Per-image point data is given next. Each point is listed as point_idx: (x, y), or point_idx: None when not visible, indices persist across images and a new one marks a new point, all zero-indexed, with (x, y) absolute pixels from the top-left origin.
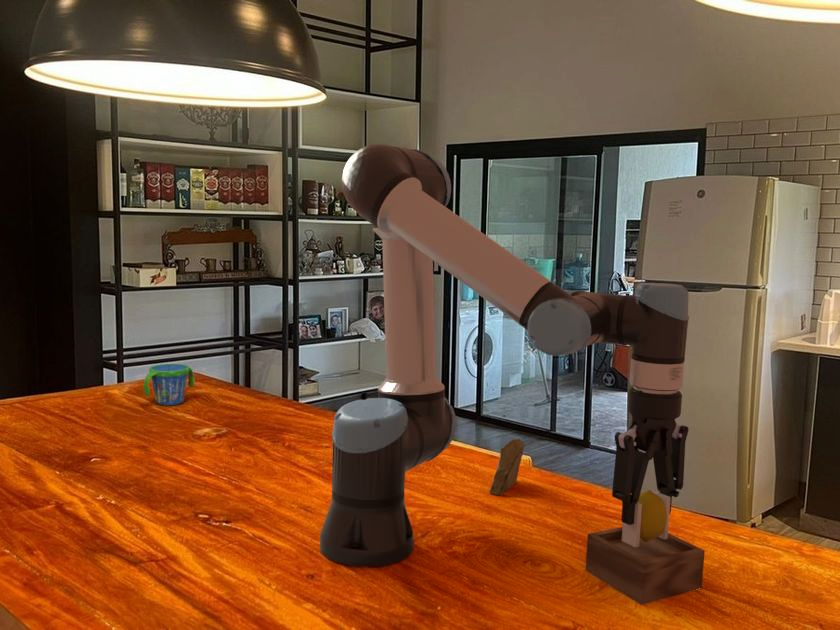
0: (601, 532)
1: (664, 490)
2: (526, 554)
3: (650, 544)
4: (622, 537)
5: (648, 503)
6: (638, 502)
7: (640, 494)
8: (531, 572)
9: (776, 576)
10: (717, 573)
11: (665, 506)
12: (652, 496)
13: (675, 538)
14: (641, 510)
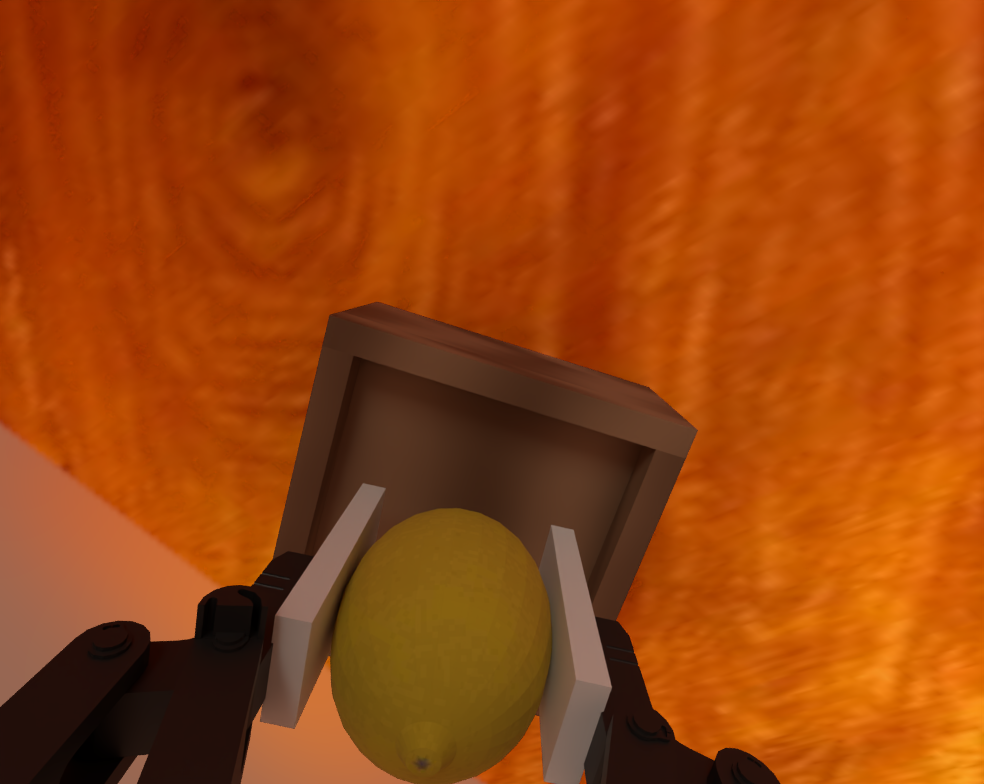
0: (402, 350)
1: (593, 777)
2: (307, 38)
3: (535, 513)
4: (358, 492)
5: (352, 740)
6: (336, 677)
7: (385, 692)
8: (198, 168)
9: (812, 730)
10: (703, 610)
11: (541, 718)
12: (400, 773)
13: (604, 605)
14: (310, 691)
